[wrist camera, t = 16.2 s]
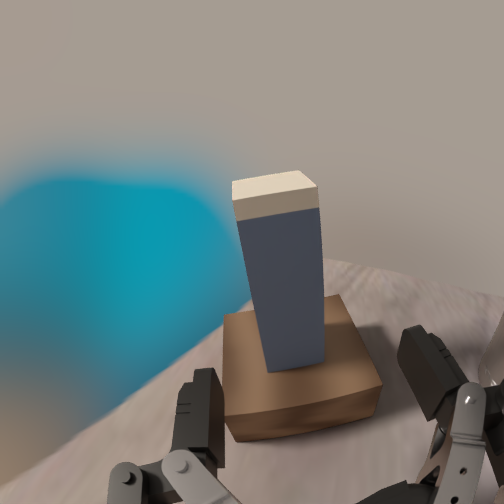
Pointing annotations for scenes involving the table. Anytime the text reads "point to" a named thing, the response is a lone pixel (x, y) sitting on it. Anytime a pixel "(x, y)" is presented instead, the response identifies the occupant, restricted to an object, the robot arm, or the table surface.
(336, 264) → the table surface
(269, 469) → the table surface
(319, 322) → the carton
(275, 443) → the table surface
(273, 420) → the display plinth
